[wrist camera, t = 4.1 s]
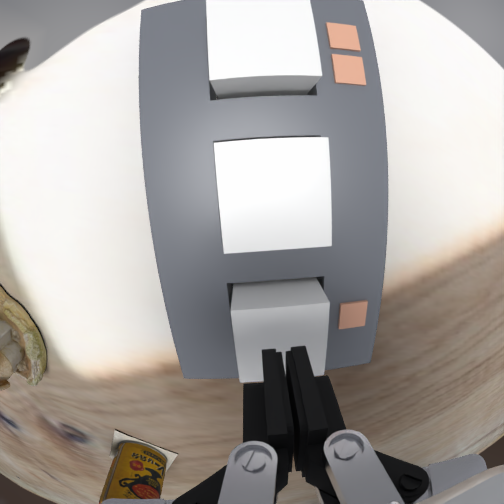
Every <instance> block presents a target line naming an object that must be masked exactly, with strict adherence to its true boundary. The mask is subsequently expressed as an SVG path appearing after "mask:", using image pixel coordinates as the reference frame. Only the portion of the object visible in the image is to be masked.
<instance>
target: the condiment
mask: <svg viewBox="0 0 504 504" xmlns="http://www.w3.org/2000/svg"><path fill="white" fill-rule="evenodd" d="M177 455H178V454H176V453H173V452H170V451H167V450H164V449H162V448H159V447H157V446H154V445H152V444H149V443H146V442H143V441H141V440H138V439H136V438H133V437H130V436H127V435H125V434H122V433H120V432H118V431H116V430H115V432H114V438H113V443H112V447H111V453H110V458H112V459H113V462H112V464H111V467H110V470H109V473H108V476H107V479H106V482H105V485H104V488H103V491H102V494H101V496H100V500H99V504H101V503H102V502H103V501H105V500H107V499H112V498H116V499H160V495H161V491H162V487H163V481H164V477H165V473H166V471H167V470H168V468H169V467H170V465H171V464H172V462H173V461H174V459H175V458H176V456H177Z"/></svg>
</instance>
